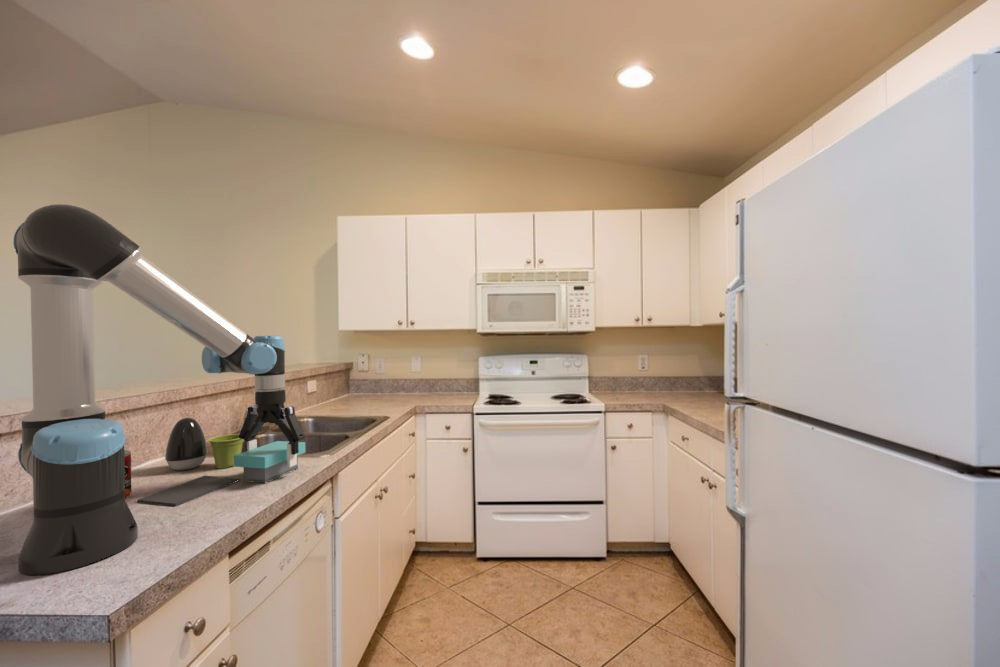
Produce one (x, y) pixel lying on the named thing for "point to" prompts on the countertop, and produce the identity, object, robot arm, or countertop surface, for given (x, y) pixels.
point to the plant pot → (226, 449)
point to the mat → (187, 491)
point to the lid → (265, 455)
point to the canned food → (127, 472)
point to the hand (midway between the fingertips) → (272, 464)
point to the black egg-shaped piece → (186, 445)
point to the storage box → (268, 472)
